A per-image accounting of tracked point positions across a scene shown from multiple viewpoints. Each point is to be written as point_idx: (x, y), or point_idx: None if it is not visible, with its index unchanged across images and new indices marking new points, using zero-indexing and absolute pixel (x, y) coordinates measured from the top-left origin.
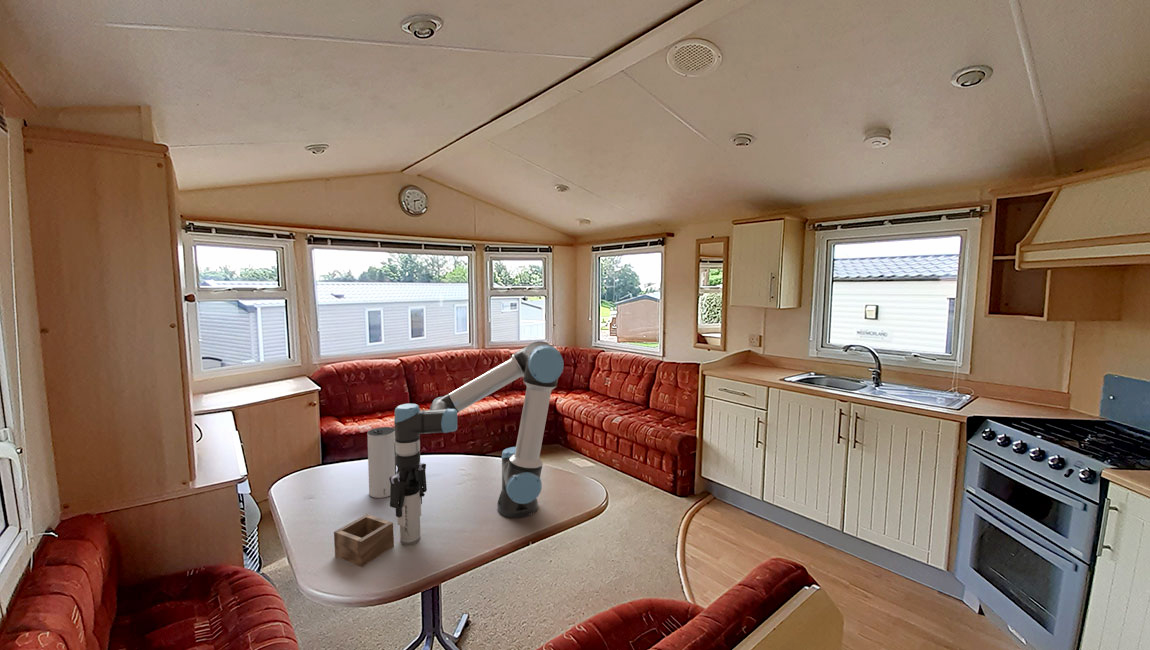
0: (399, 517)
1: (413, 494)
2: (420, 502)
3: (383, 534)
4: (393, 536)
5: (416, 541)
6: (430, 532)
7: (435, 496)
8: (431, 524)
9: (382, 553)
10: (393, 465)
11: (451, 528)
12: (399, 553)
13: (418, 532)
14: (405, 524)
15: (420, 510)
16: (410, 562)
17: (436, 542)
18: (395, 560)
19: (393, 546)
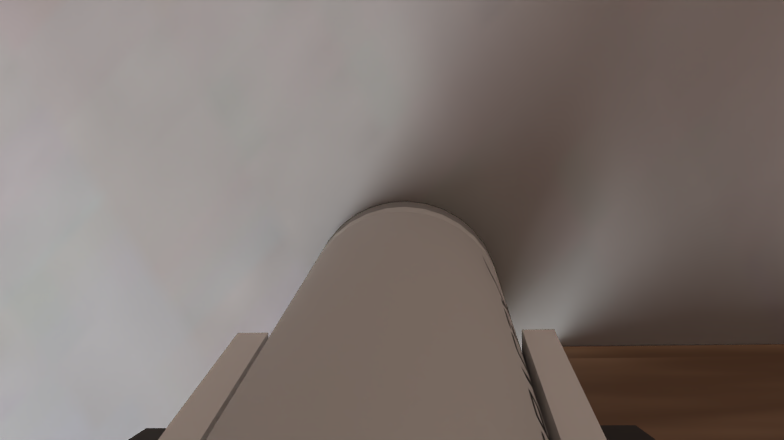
0: (637, 427)
1: None
2: (173, 433)
3: (745, 437)
4: None
5: (414, 204)
6: (214, 221)
7: None
8: (112, 314)
9: (683, 346)
10: None
11: (50, 87)
12: (612, 216)
13: (379, 222)
14: (516, 339)
15: (226, 365)
16: (679, 9)
17: (308, 37)
18: (713, 163)
19: None
